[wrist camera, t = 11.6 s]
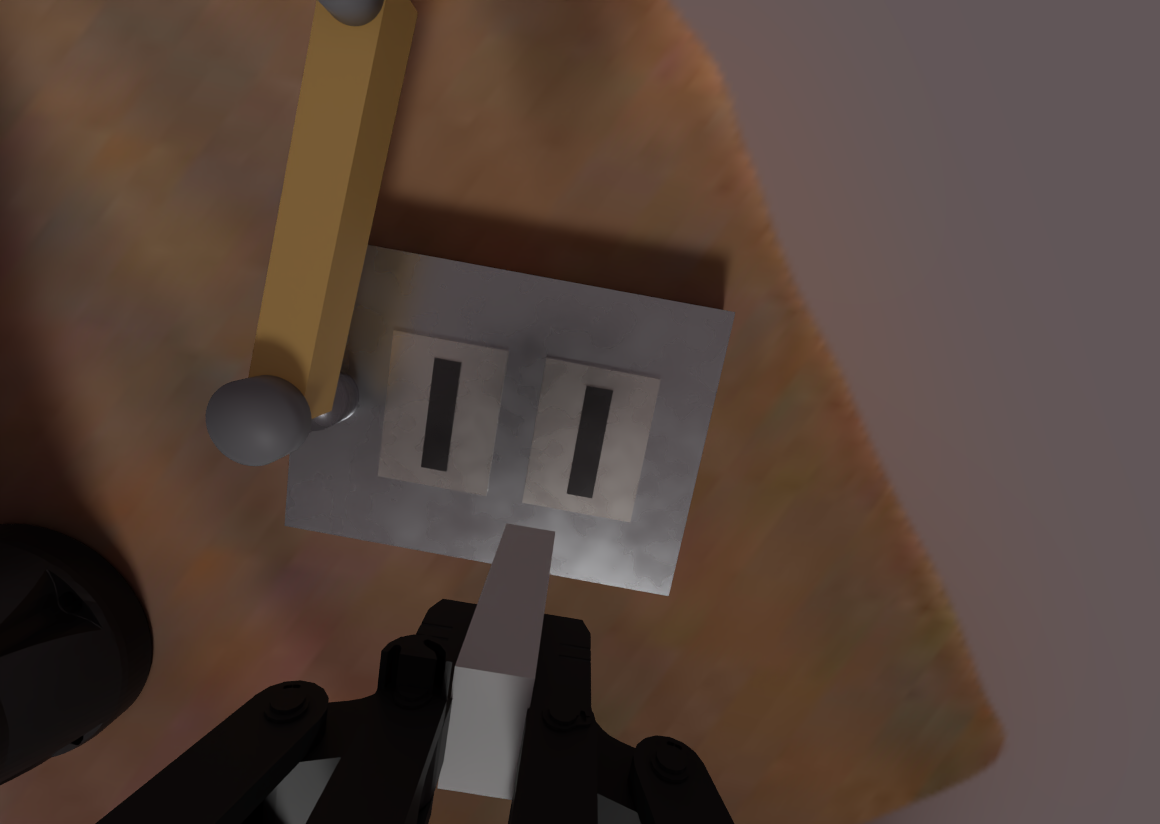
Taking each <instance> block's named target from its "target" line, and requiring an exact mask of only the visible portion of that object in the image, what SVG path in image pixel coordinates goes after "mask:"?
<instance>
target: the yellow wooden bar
mask: <svg viewBox="0 0 1160 824" xmlns="http://www.w3.org/2000/svg"><path fill="white" fill-rule="evenodd" d="M417 15H418V12H417V10H416V9H415V7H414V6H413V4H412V3H411V1H410V0H317V2H316V8H315V13H314V19H313V24H312V30H311V35H310V41H309V46H308V52H307V57H306V63H305V68H304V74H303V79H302V85H301V90H300V96H299V101H298V107H297V112H296V118H295V123H294V129H293V134H292V140H291V145H290V151H289V156H288V162H287V168H286V173H285V179H284V184H283V190H282V195H281V201H280V206H279V212H278V217H277V223H276V228H275V234H274V239H273V245H272V250H271V256H270V261H269V267H268V272H267V278H266V283H265V289H264V294H263V300H262V305H261V311H260V316H259V322H258V327H257V333H256V338H255V344H254V349H253V355H252V360H251V366H250V371H249V377H248V378H246V379H241V380H237V381H233V382H230V383H227V384H225V385H223V386H222V387H220V388H219V389H218V390H217V391H216V392H215V393H214V394H213V396H212V397H211V399H210V401H209V403H208V406H207V410H206V425H207V429H208V433H209V435H210V437H211V439H212V441H213V443H214V444H215V445H216V447H217V448H218V449H219V450H220V451H221V452H222V453H223V454H224V455H225V456H227V457H228V458H230V459H231V460H233V461H235V462H237V463H240V464H244V465H248V466H261V465H266V464H269V463H271V462H274V461H276V460H278V459H280V458H282V457H284V456H286V455H288V454H290V453H292V452H294V451H295V450H297V449H298V448H299V447H301V446H302V445H303V443H304V442H305V441H306V439H307V437H308V435H309V433H310V429H311V423H312V419H313V418H316V417H318V416H320V415H323V414H325V413H328V412H330V411H332V407H333V402H334V398H335V393H336V388H337V384H338V379H339V375H340V370H341V365H342V361H343V356H344V352H345V347H346V342H347V338H348V333H349V329H350V324H351V319H352V315H353V310H354V305H355V301H356V296H357V292H358V287H359V282H360V278H361V273H362V269H363V264H364V259H365V255H366V250H367V246H368V241H369V236H370V232H371V227H372V223H373V218H374V213H375V209H376V204H377V200H378V195H379V190H380V186H381V181H382V177H383V172H384V167H385V163H386V158H387V154H388V149H389V144H390V140H391V135H392V131H393V126H394V121H395V117H396V112H397V107H398V103H399V98H400V94H401V89H402V84H403V80H404V75H405V71H406V66H407V61H408V57H409V52H410V48H411V43H412V38H413V34H414V29H415V25H416V20H417Z"/></svg>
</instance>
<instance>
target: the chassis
mask: <svg viewBox="0 0 1160 824" xmlns="http://www.w3.org/2000/svg"><path fill="white" fill-rule="evenodd" d="M734 316H735V312H731V311H725V310H720V309H714V308H709V307H704V306H698V305H693V304H687V303H682V302H676V301H671V300H666V299H660V298H655V297H649V296H644V295H638V294H633V293H627V292H622V291H617V290H611V289H606V288H600V287H595V286H589V285H584V284H579V283H573V282H568V281H562V280H557V279H551V278H546V277H540V276H535V275H530V274H524V273H519V272H513V271H508V270H502V269H497V268H492V267H486V266H481V265H475V264H470V263H464V262H459V261H453V260H448V259H443V258H437V257H432V256H426V255H421V254H415V253H410V252H405V251H399V250H394V249H388V248H383V247H377V246H372V245H368V246H367V250H366V255H365V259H364V264H363V269H362V273H361V278H360V282H359V287H358V292H357V296H356V301H355V305H354V310H353V315H352V319H351V324H350V329H349V333H348V338H347V342H346V347H345V352H344V356H343V361H342V365H341V370H340V375H339V379H338V384H337V388H336V393H335V398H334V402H333V407H332V411H330V412H328V413H325V414H323V415H320V416H318V417H316V418H313V419H312V423H311V429H310V433H309V435H308V437H307V439H306V441H305V442H304V443H303V445H302V446H301V447H299V448H298V449H297V450H295V451H294V452H292V453H290V458H289V472H288V486H287V500H286V514H285V526H289V527H295V528H300V529H306V530H311V531H317V532H322V533H328V534H333V535H338V536H344V537H349V538H355V539H360V540H366V541H371V542H377V543H382V544H388V545H393V546H398V547H404V548H409V549H415V550H420V551H426V552H431V553H437V554H442V555H448V556H453V557H458V558H464V559H469V560H475V561H480V562H486V563H491V564H492V562H493V559H494V557H495V554H496V551H497V548H498V546H499V543H500V540H501V537H502V535H503V532H504V529H505V526H506V524H513V525H519V526H525V527H531V528H537V529H543V530H549V531H555V538H554V546H553V553H552V560H551V567H550V574H551V575H557V576H562V577H568V578H573V579H579V580H584V581H589V582H595V583H600V584H606V585H611V586H617V587H622V588H628V589H633V590H639V591H644V592H649V593H655V594H660V595H666V596H669V592H670V588H671V583H672V579H673V575H674V571H675V566H676V562H677V558H678V554H679V549H680V545H681V541H682V537H683V532H684V528H685V524H686V520H687V515H688V511H689V507H690V503H691V498H692V494H693V490H694V486H695V481H696V477H697V473H698V469H699V464H700V460H701V456H702V452H703V447H704V443H705V439H706V435H707V430H708V426H709V422H710V418H711V413H712V409H713V405H714V401H715V396H716V392H717V388H718V384H719V379H720V375H721V371H722V367H723V362H724V358H725V354H726V350H727V345H728V341H729V337H730V333H731V328H732V324H733V320H734Z"/></svg>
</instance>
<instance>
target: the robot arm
mask: <svg viewBox="0 0 1160 824" xmlns="http://www.w3.org/2000/svg"><path fill="white" fill-rule="evenodd" d="M554 538H555V531H549V530H543V529H537V528H531V527H525V526H519V525H513V524H506V526H505V529H504V532H503V535H502V537H501V540H500V543H499V546H498V548H497V551H496V554H495V557H494V559H493V562H492V565H491V568H490V571H489V573H488V576H487V579H486V582H485V584H484V587H483V590H482V593H481V595H480V598H479V601H478V604H472V603H466V602H459V601H453V600H447V599H442V600H441V601H439V602H438V603H436V604H435V605H434V606H432V607H431V608H430V609H429V610H428V612H427V614H426V615H425V617H424V619H423V621H422V625H420V627H419V629H418V631H417V633H416V635H409V636H404V637H400V638H398V639H396V640H394V641H392V642H390V643H388V645H387V646H386V647H385V648H384V649H383V650H382V651H381V660H380V669H379V678H378V688H377V691H376V693H375V694H373V695H371V696H368V697H365V698H362V699H357V700H351V701H341V702H330V703H328V699H329V698H328V696H327V694H326V692H325V690H324V689H323V688H321V687H320V686H318V685H317V684H315V683H311V682H306V681H301V680H300V681H288V682H283V683H279V684H276V685H273V686H270V687H268V688H266V689H265V690H263V691H261V692H260V693H258V694H256V695H255V696H254V697H253V698H251V699H250V700H249V701H248V702H246V703H245V704H244V705H243V706H241V707H240V708H239V709H238V710H236V711H235V712H234V713H233V714H231V715H230V716H229V717H228V718H226V719H225V720H224V721H223V722H222V723H220V724H219V725H218V726H217V727H215V728H214V729H213V730H212V731H210V732H209V733H208V734H207V735H205V736H204V737H203V738H202V739H200V740H199V741H198V742H197V743H195V744H194V745H193V746H192V747H190V748H189V749H188V750H187V751H185V752H184V753H183V754H182V755H180V756H179V757H178V758H177V759H175V760H174V761H173V762H172V763H170V764H169V765H168V766H167V767H165V768H164V769H163V770H162V771H160V772H159V773H158V774H157V775H155V776H154V777H153V778H152V779H151V780H149V781H148V782H147V783H146V784H144V785H143V786H142V787H141V788H139V789H138V790H137V791H136V792H134V793H133V794H132V795H131V796H129V797H128V798H127V799H126V800H124V801H123V802H122V803H121V804H119V805H118V806H117V807H116V808H114V809H113V810H112V811H111V812H109V813H108V814H107V815H106V816H104V817H103V818H102V819H101V820H99V821H98V822H97V823H96V824H428V823H429V819H430V816H431V810H432V803H433V796H434V791H435V788H436V784H437V781H438V778H439V782H438V788H439V789H446V790H452V791H459V792H465V793H472V794H478V795H484V796H491V797H497V798H504V799H510V800H512V804H511V809H510V815H509V821H508V824H734V822H733V820H732V818H731V816H730V814H729V812H728V810H727V808H726V806H725V805H724V803H723V801H722V799H721V797H720V795H719V793H718V791H717V789H716V787H715V785H714V783H713V781H712V779H711V777H710V775H709V773H708V771H707V769H706V767H705V765H704V763H703V762H702V761H701V759H700V758H699V757H698V755H697V754H696V753H695V752H694V751H693V750H692V749H691V748H689V747H688V746H687V745H685V744H684V743H682V742H680V741H678V740H675V739H673V738H671V737H665V736H652V737H648V738H645V739H643V740H642V741H641V742H640V743H638V744H637V746H636V748H634V747H631V746H629V745H627V744H625V743H622V742H620V741H618V740H617V739H615V738H613V737H611V736H610V735H608V734H607V733H606V732H605V731H604V730H602V728H601V727H600V726H599V725H598V724H597V722H596V720H595V717H594V713H593V712H592V709H591V663H590V661H591V651H590V649H591V637H590V632H589V630H588V629H587V627H586V625H585V624H584V622H583V620H579V619H573V618H567V617H561V616H555V615H548V614H544V610H545V603H546V596H547V589H548V582H549V574H550V567H551V560H552V553H553V546H554ZM151 655H152V647H151V637H150V632H149V627H148V624H147V620H146V617H145V615H144V612H143V610H142V608H141V605H140V603H139V602H138V600H137V598H136V596H135V595H134V593H133V591H132V590H131V588H130V587H129V585H128V584H127V583H126V581H125V580H124V579H123V578H122V576H121V575H120V574H119V573H118V572H117V571H116V570H115V569H114V568H113V567H112V566H111V565H110V564H109V563H108V562H107V561H106V560H104V559H103V558H102V557H101V556H99V555H98V554H97V553H96V552H94V551H93V550H91V549H90V548H88V547H87V546H85V545H83V544H82V543H80V542H78V541H76V540H74V539H72V538H70V537H68V536H66V535H63V534H61V533H58V532H56V531H53V530H49V529H46V528H42V527H38V526H32V525H25V524H0V785H2V784H4V783H6V782H8V781H10V780H12V779H14V778H16V777H18V776H20V775H22V774H23V773H25V772H27V771H29V770H31V769H33V768H35V767H36V766H38V765H40V764H42V763H43V762H45V761H46V760H48V759H49V758H51V757H54V756H58V755H61V754H63V753H66V752H68V751H70V750H73V749H75V748H77V747H79V746H80V745H82V744H84V743H86V742H87V741H89V740H90V739H92V738H93V737H95V736H96V735H97V734H99V733H100V732H101V731H102V730H104V729H105V728H106V727H107V726H108V725H109V724H111V723H112V722H113V721H114V720H115V719H116V718H117V717H119V716H120V715H121V714H122V713H123V712H124V711H126V710H127V709H128V708H129V707H130V706H131V705H132V704H133V702H134V701H135V700H136V699H137V697H138V696H139V694H140V693H141V691H142V689H143V687H144V685H145V683H146V680H147V677H148V674H149V670H150V665H151Z"/></svg>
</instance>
